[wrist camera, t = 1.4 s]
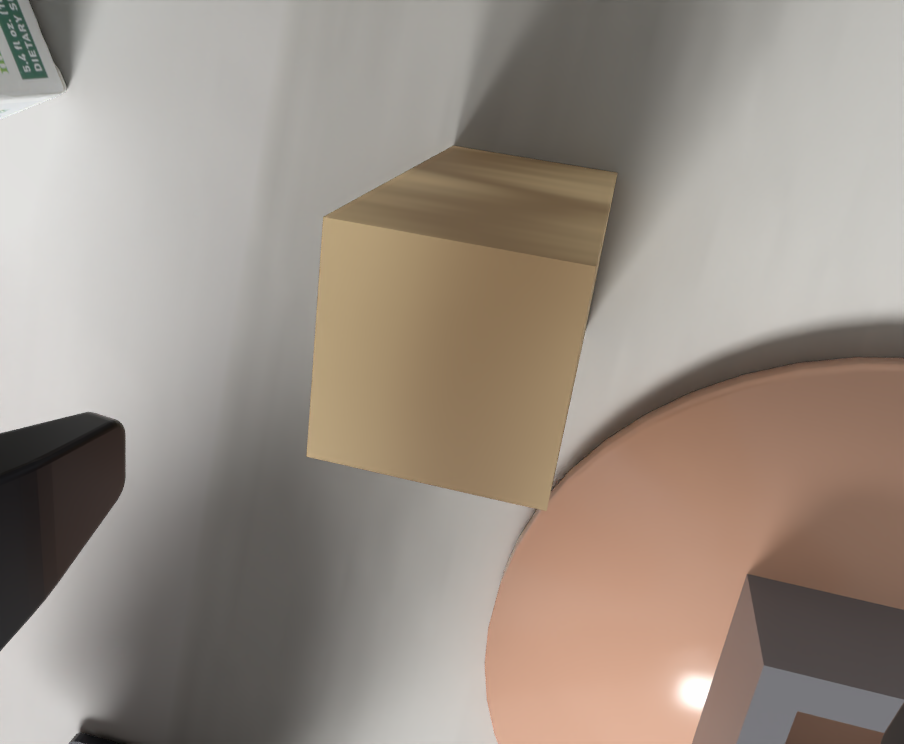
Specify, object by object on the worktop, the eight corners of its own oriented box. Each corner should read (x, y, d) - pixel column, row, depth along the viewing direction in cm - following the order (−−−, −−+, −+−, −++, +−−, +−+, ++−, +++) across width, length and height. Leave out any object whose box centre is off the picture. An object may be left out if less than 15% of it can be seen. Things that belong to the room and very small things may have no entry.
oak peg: (433, 301, 22) (306, 456, 14) (453, 145, 20) (322, 216, 12) (585, 330, 21) (546, 511, 13) (617, 172, 20) (596, 266, 12)
